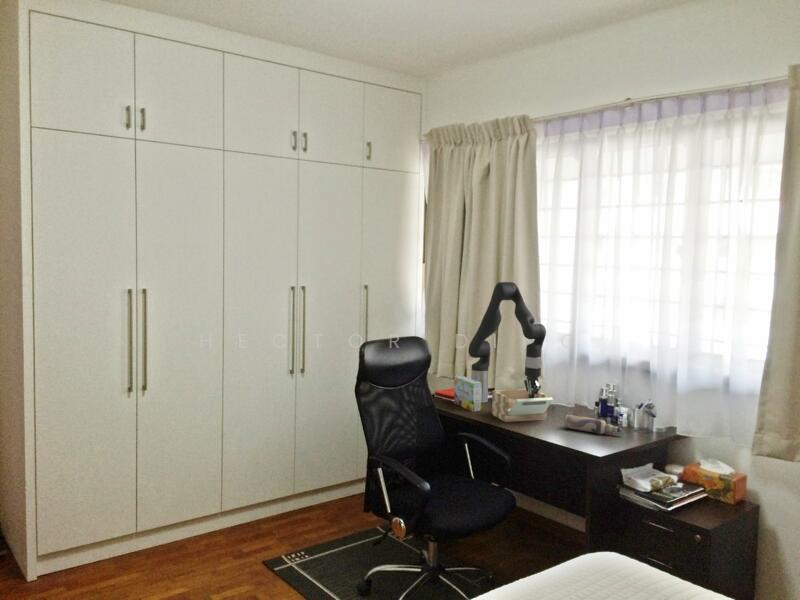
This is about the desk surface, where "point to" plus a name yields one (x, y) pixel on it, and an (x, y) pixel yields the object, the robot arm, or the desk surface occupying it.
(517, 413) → the white rectangular panel
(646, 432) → the desk surface
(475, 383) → the snack box
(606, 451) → the desk surface
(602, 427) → the decorative bottle
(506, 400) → the beige open box
